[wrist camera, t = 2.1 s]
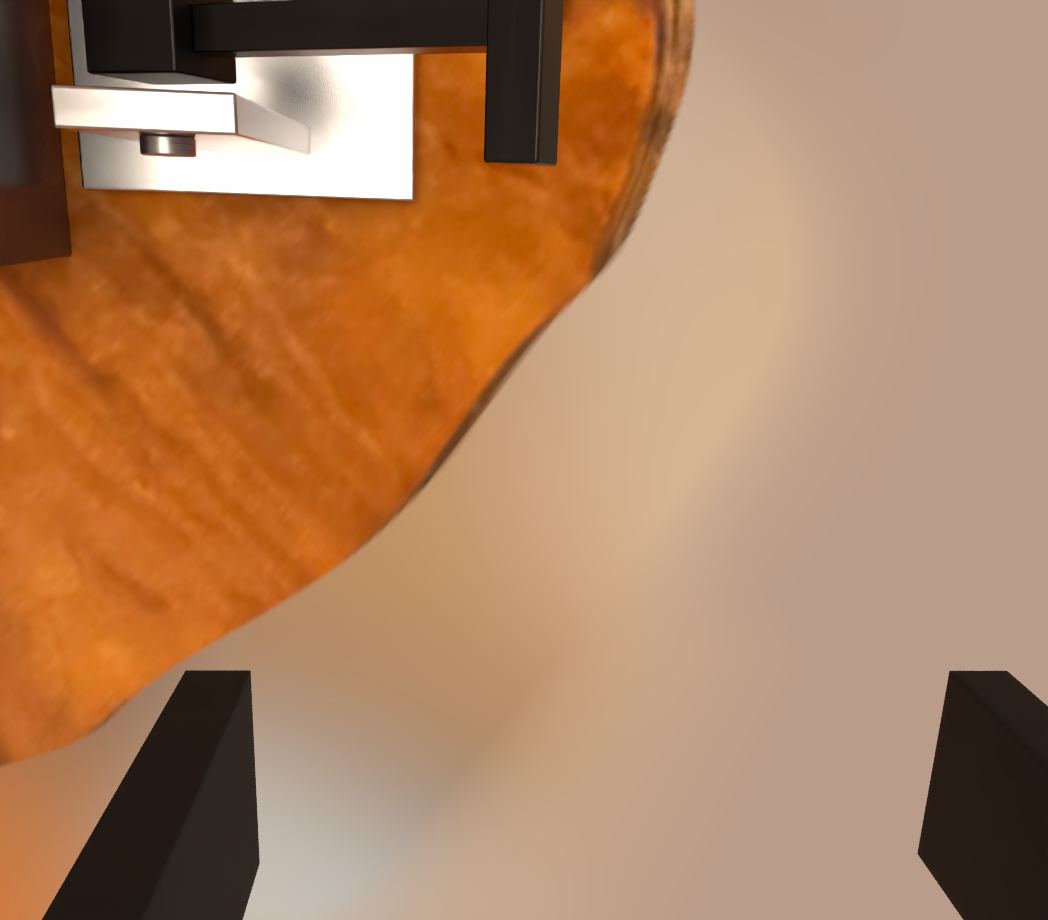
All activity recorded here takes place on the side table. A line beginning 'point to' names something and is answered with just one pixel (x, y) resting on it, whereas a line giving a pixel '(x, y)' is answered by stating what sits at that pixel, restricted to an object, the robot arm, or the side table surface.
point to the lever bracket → (248, 127)
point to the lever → (348, 49)
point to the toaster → (29, 140)
